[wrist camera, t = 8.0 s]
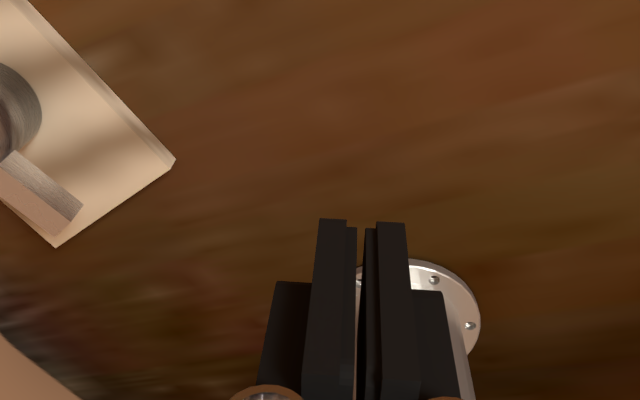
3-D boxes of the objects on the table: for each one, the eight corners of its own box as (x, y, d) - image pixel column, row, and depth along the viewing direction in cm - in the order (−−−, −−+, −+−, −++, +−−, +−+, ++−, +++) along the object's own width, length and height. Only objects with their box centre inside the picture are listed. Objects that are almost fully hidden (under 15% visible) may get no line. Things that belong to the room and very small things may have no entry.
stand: (176, 158, 41) (168, 171, 40) (63, 236, 45) (53, 250, 44) (-68, -101, 33) (-89, -98, 32) (-176, 23, 38) (-199, 31, 36)
